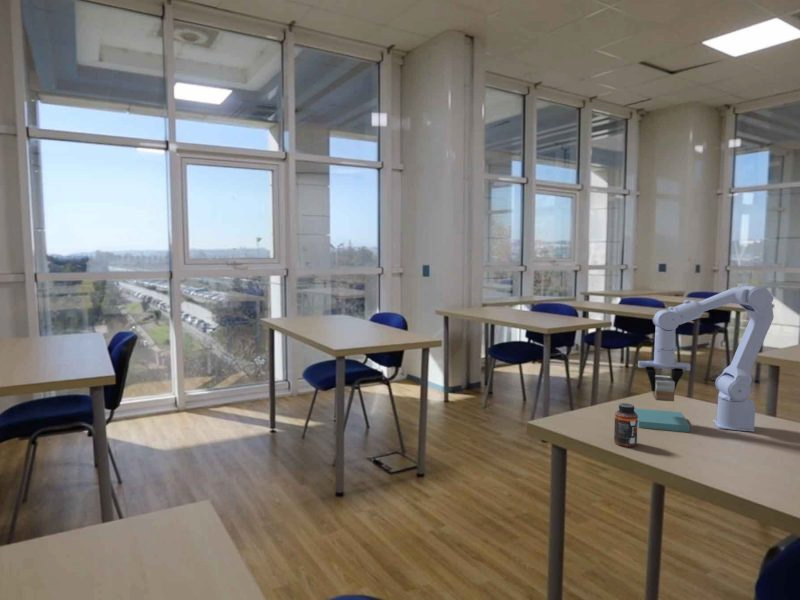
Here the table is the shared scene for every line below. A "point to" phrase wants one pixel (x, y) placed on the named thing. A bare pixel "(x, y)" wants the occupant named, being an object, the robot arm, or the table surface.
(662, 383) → the block
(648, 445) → the table surface
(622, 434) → the supplement bottle
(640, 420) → the teal stand
